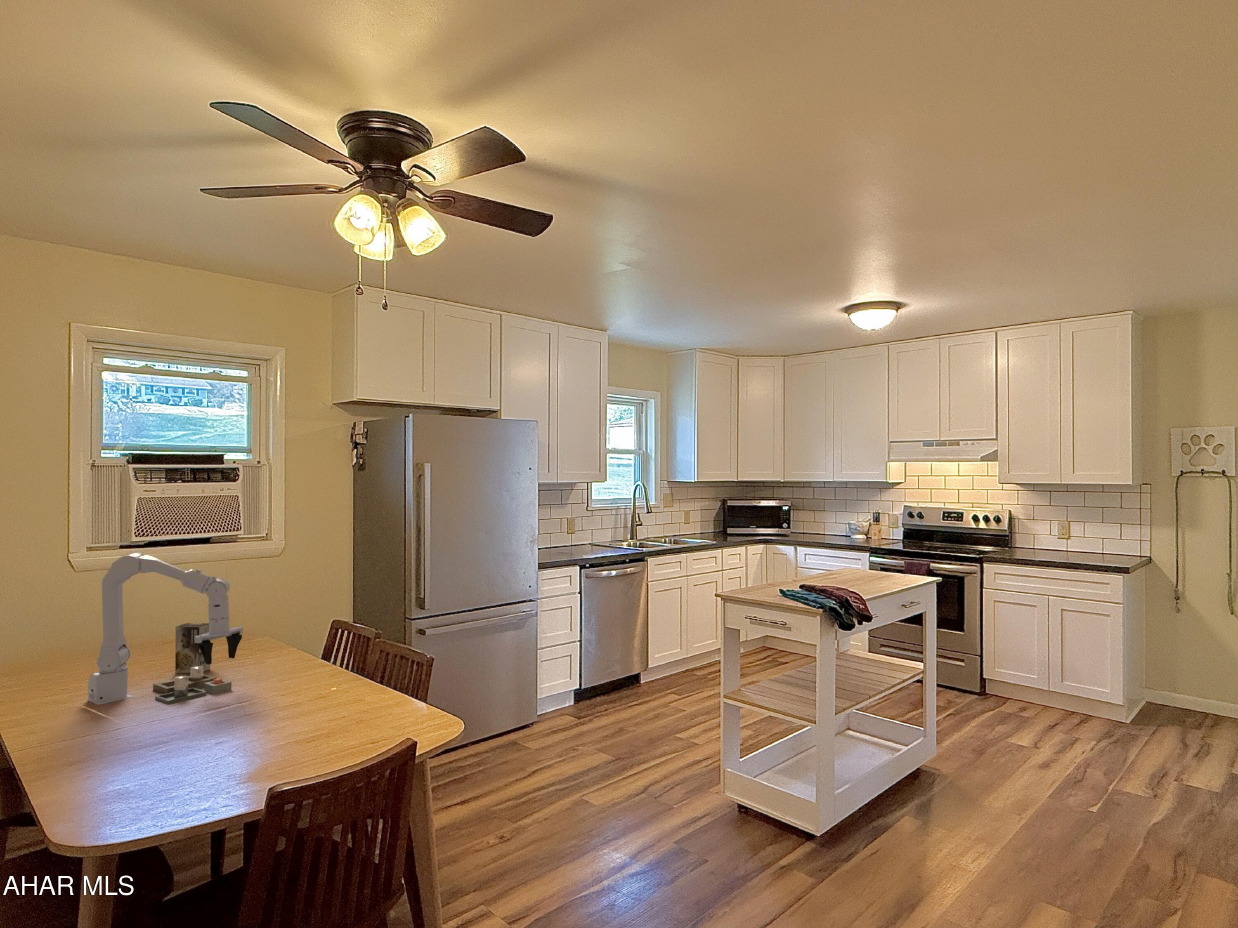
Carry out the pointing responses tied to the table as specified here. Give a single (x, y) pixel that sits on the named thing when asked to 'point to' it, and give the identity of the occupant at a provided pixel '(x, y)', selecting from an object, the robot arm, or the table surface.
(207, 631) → the coffee box
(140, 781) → the table surface
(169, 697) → the shallow grey tray
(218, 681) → the button
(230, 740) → the table surface
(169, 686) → the pallet
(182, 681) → the block
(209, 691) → the button housing
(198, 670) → the billet
